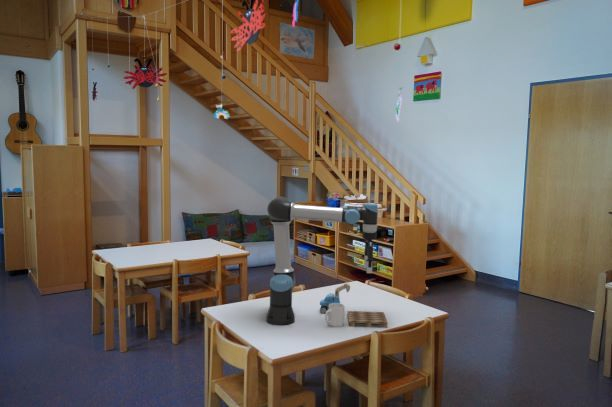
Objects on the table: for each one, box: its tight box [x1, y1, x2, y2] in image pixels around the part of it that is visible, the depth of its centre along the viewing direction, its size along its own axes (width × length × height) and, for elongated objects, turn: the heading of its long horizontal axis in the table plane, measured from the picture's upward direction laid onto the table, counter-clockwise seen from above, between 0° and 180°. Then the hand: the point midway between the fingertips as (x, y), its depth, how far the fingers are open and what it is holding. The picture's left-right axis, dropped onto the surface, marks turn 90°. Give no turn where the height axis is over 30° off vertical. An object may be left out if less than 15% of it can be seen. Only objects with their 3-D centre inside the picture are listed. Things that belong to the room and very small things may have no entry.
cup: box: [324, 302, 345, 328], centre depth 256 cm, size 8×12×10 cm
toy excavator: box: [319, 282, 351, 314], centre depth 277 cm, size 9×17×17 cm, turn 78°
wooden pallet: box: [346, 310, 389, 329], centre depth 263 cm, size 20×16×3 cm
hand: (367, 270), depth 269 cm, fingers open, 13 cm apart
